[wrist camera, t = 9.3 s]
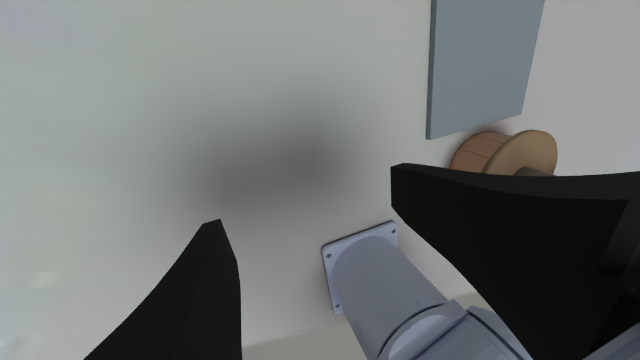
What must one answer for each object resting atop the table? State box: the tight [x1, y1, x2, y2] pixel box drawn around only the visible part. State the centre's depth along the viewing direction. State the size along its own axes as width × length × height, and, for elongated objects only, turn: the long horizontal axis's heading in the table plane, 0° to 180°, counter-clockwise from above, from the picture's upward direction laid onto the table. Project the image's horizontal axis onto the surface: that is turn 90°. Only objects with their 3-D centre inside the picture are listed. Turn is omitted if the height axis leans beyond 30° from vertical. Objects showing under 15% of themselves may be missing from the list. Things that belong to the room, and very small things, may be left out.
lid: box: [481, 130, 557, 176], centre depth 21 cm, size 9×9×5 cm
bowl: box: [449, 132, 512, 173], centre depth 25 cm, size 7×7×4 cm
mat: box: [426, 0, 545, 140], centre depth 21 cm, size 11×11×1 cm
